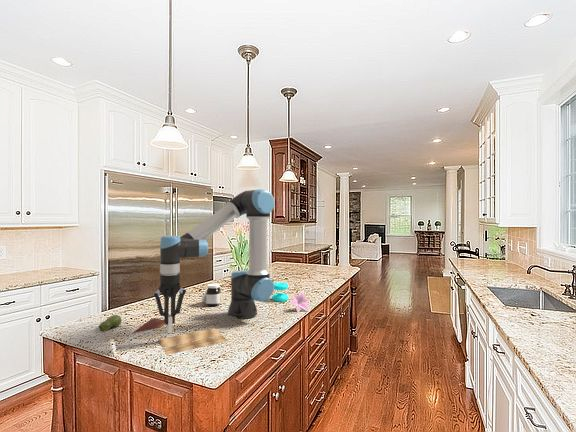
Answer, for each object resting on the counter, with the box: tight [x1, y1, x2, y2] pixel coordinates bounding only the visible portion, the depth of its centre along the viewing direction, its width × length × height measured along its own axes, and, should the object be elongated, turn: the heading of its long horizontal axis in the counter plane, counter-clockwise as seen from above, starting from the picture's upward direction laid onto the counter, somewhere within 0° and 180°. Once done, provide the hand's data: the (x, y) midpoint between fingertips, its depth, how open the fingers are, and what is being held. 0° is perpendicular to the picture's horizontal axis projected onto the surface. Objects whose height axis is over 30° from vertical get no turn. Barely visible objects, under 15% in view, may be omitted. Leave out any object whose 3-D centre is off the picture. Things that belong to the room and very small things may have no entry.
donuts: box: [271, 282, 289, 302], centre depth 199 cm, size 10×10×10 cm
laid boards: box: [162, 334, 229, 356], centre depth 128 cm, size 24×7×1 cm, turn 123°
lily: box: [288, 289, 311, 313], centre depth 178 cm, size 12×12×10 cm
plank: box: [158, 327, 222, 349], centre depth 135 cm, size 24×8×1 cm, turn 123°
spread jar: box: [201, 283, 222, 307], centre depth 189 cm, size 12×11×12 cm
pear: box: [98, 314, 122, 332], centre depth 150 cm, size 6×5×10 cm
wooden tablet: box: [132, 317, 165, 334], centre depth 149 cm, size 27×10×2 cm, turn 176°
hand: (169, 331), depth 131 cm, fingers closed
